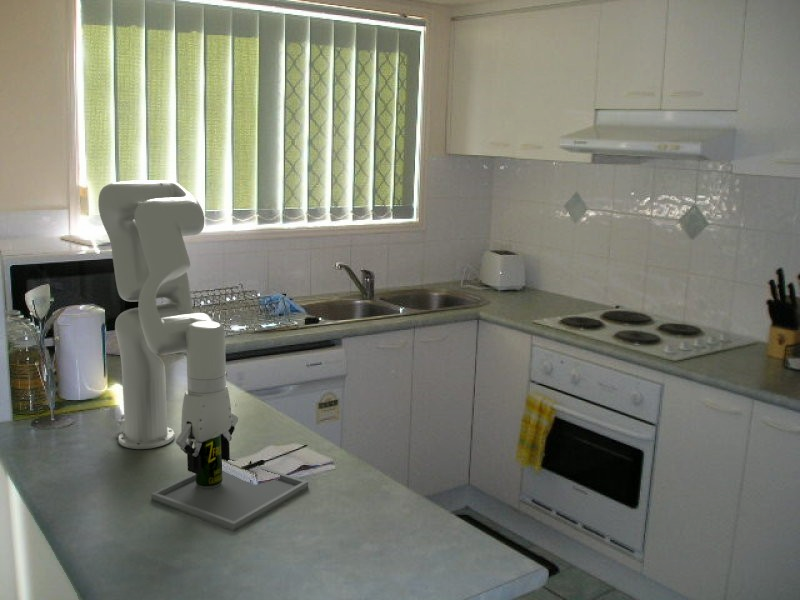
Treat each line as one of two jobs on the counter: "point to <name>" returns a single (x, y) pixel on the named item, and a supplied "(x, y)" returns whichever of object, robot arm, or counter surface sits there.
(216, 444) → the beer can
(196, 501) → the grey rimmed serving tray
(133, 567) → the counter surface
